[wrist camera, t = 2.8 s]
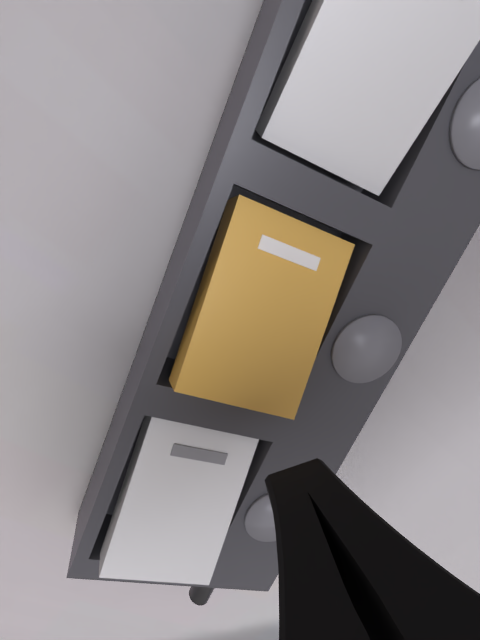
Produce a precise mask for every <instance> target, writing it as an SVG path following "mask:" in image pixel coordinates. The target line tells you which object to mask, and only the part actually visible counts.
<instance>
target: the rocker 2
mask: <svg viewBox="0 0 480 640" xmlns="http://www.w3.org/2000/svg"><path fill="white" fill-rule="evenodd" d="M479 40H480V0H312V2H311V4H310V7H309V9H308V11H307V13H306V16H305V18H304V20H303V22H302V25H301V27H300V29H299V31H298V34H297V36H296V38H295V40H294V43H293V45H292V47H291V50H290V52H289V54H288V56H287V59H286V61H285V63H284V65H283V68H282V70H281V72H280V74H279V77H278V79H277V81H276V83H275V86H274V88H273V90H272V92H271V95H270V97H269V99H268V101H267V104H266V106H265V108H264V110H263V113H262V115H261V117H260V120H259V122H258V124H257V126H256V129H255V130H256V131H257V133H258V134H259V135H260V136H261V138H263V139H265V140H267V141H269V142H271V143H273V144H275V145H277V146H279V147H281V148H283V149H285V150H287V151H289V152H291V153H293V154H295V155H297V156H299V157H301V158H303V159H305V160H307V161H309V162H311V163H313V164H315V165H317V166H319V167H321V168H323V169H325V170H327V171H329V172H331V173H333V174H335V175H338V176H340V177H342V178H344V179H346V180H348V181H350V182H352V183H354V184H356V185H358V186H360V187H362V188H364V189H366V190H368V191H370V192H372V193H374V194H376V195H378V196H379V195H380V194H381V192H382V190H383V189H384V187H385V186H386V184H387V183H388V181H389V180H390V178H391V177H392V175H393V173H394V172H395V170H396V169H397V167H398V166H399V164H400V163H401V161H402V159H403V158H404V156H405V155H406V153H407V152H408V150H409V149H410V147H411V146H412V144H413V142H414V141H415V139H416V138H417V136H418V135H419V133H420V132H421V130H422V128H423V127H424V125H425V124H426V122H427V121H428V119H429V118H430V116H431V115H432V113H433V111H434V110H435V108H436V107H437V105H438V104H439V102H440V101H441V99H442V98H443V96H444V94H445V93H446V91H447V90H448V88H449V87H450V85H451V84H452V82H453V80H454V79H455V77H456V76H457V74H458V73H459V71H460V70H461V68H462V67H463V65H464V63H465V62H466V60H467V59H468V57H469V56H470V54H471V53H472V51H473V49H474V48H475V46H476V45H477V43H478V42H479Z"/></svg>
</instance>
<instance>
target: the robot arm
mask: <svg viewBox="0 0 480 640" xmlns="http://www.w3.org/2000/svg"><path fill="white" fill-rule="evenodd" d="M265 484H266V488H267V492H268V496H269V499H270V503H271V507H272V511H273V517H274V524H275V532H276V544H277V557H278V573H279V640H480V594H479V593H478V592H476V591H475V590H473V589H472V588H470V587H469V586H468V585H466V584H465V583H463V582H462V581H461V580H459V579H458V578H457V577H455V576H454V575H452V574H451V573H450V572H448V571H447V570H446V569H444V568H443V567H442V566H440V565H439V564H438V563H436V562H435V561H434V560H433V559H431V558H430V557H429V556H427V555H426V554H425V553H424V552H422V551H421V550H420V549H418V548H417V547H416V546H415V545H413V544H412V543H411V542H410V541H408V540H407V539H406V538H405V537H404V536H402V535H401V534H400V533H399V532H398V531H396V530H395V529H394V528H393V527H392V526H391V525H389V524H388V523H387V522H386V521H385V520H384V519H382V518H381V517H380V516H379V515H378V514H377V513H375V512H374V511H373V510H372V509H371V508H370V507H369V506H368V505H366V504H365V503H364V502H363V501H362V500H361V499H360V498H359V497H358V496H357V495H356V494H355V493H354V492H353V491H351V490H350V489H349V488H348V487H347V486H346V485H345V484H344V483H343V482H342V481H341V480H340V479H339V478H338V477H337V476H336V475H335V474H334V473H333V472H332V471H331V469H330V468H329V467H328V466H327V465H326V464H325V463H324V462H323V461H322V460H320V459H318V458H316V459H313V460H310V461H307V462H304V463H301V464H299V465H296V466H293V467H290V468H287V469H284V470H281V471H278V472H275V473H272V474H269V475H268V476H267V477H266V479H265Z"/></svg>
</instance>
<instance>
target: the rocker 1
mask: <svg viewBox="0 0 480 640" xmlns="http://www.w3.org/2000/svg"><path fill="white" fill-rule="evenodd" d="M258 441H259V439H255V438H250V437H245V436H241V435H236V434H231V433H226V432H222V431H217V430H212V429H207V428H203V427H198V426H193V425H188V424H184V423H179V422H174V421H169V420H164V419H160V418H155V417H150V416H145V417H144V420H143V423H142V426H141V429H140V433H139V436H138V439H137V442H136V445H135V448H134V451H133V454H132V457H131V460H130V463H129V466H128V469H127V472H126V475H125V478H124V481H123V484H122V487H121V490H120V493H119V497H118V500H117V503H116V506H115V509H114V512H113V515H112V518H111V521H110V524H109V527H108V530H107V533H106V536H105V539H104V542H103V545H102V548H101V551H100V562H99V578H111V579H126V580H140V581H155V582H169V583H184V584H198V585H209V584H210V581H211V578H212V575H213V572H214V569H215V566H216V563H217V560H218V558H219V555H220V552H221V549H222V546H223V543H224V540H225V537H226V534H227V531H228V528H229V526H230V523H231V520H232V517H233V514H234V511H235V508H236V505H237V502H238V499H239V496H240V494H241V491H242V488H243V485H244V482H245V479H246V476H247V473H248V470H249V467H250V464H251V462H252V459H253V456H254V453H255V450H256V447H257V444H258Z"/></svg>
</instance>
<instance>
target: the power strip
mask: <svg viewBox="0 0 480 640" xmlns="http://www.w3.org/2000/svg"><path fill="white" fill-rule="evenodd" d="M311 2H312V0H264V1H263V4H262V7H261V10H260V12H259V15H258V18H257V21H256V23H255V26H254V29H253V32H252V35H251V37H250V40H249V43H248V46H247V48H246V51H245V54H244V57H243V59H242V62H241V65H240V68H239V70H238V73H237V76H236V79H235V82H234V84H233V87H232V90H231V93H230V95H229V98H228V101H227V104H226V106H225V109H224V112H223V115H222V117H221V120H220V123H219V126H218V129H217V131H216V134H215V137H214V140H213V142H212V145H211V148H210V151H209V153H208V156H207V159H206V162H205V165H204V167H203V170H202V173H201V176H200V178H199V181H198V184H197V187H196V189H195V192H194V195H193V198H192V200H191V203H190V206H189V209H188V212H187V214H186V217H185V220H184V223H183V225H182V228H181V231H180V234H179V236H178V239H177V242H176V245H175V247H174V250H173V253H172V256H171V259H170V261H169V264H168V267H167V270H166V272H165V275H164V278H163V281H162V283H161V286H160V289H159V292H158V295H157V297H156V300H155V303H154V306H153V308H152V311H151V314H150V317H149V319H148V322H147V325H146V328H145V330H144V333H143V336H142V339H141V342H140V344H139V347H138V350H137V353H136V355H135V358H134V361H133V364H132V366H131V369H130V372H129V375H128V377H127V380H126V383H125V386H124V389H123V391H122V394H121V397H120V400H119V402H118V405H117V408H116V411H115V413H114V416H113V419H112V422H111V425H110V427H109V430H108V433H107V436H106V438H105V441H104V444H103V447H102V449H101V452H100V455H99V458H98V460H97V463H96V466H95V469H94V472H93V474H92V477H91V480H90V483H89V485H88V488H87V491H86V494H85V496H84V499H83V502H82V505H81V507H80V510H79V513H78V519H77V524H76V530H75V535H74V541H73V546H72V552H71V557H70V563H69V568H68V574H67V578H75V579H90V580H105V581H120V582H135V583H150V584H165V585H180V586H191V588H190V590H189V596H190V599H191V600H192V602H194V603H195V604H197V605H204V604H206V603H207V601H208V599H209V597H210V595H211V593H212V591H213V590H214V588H225V589H240V590H255V591H269V589H270V587H271V586H272V584H273V582H274V580H275V579H276V577H277V575H278V557H277V544H276V532H275V524H274V517H273V511H272V507H271V503H270V499H269V496H268V492H267V488H266V484H265V479H266V477H267V476H268V475H269V474H272V473H275V472H278V471H281V470H284V469H287V468H290V467H293V466H296V465H299V464H301V463H304V462H307V461H310V460H313V459H316V458H318V459H320V460H322V461H323V462H324V463H325V464H326V465H327V466H328V467H329V468H330V469H331V471H332V472H333V473H334V474H336V473H337V471H338V469H339V467H340V466H341V464H342V462H343V461H344V459H345V457H346V455H347V454H348V452H349V450H350V448H351V447H352V445H353V443H354V441H355V440H356V438H357V436H358V434H359V433H360V431H361V429H362V428H363V426H364V424H365V422H366V421H367V419H368V417H369V415H370V414H371V412H372V410H373V408H374V407H375V405H376V403H377V401H378V400H379V398H380V396H381V395H382V393H383V391H384V389H385V388H386V386H387V384H388V382H389V381H390V379H391V377H392V375H393V374H394V372H395V370H396V369H397V367H398V365H399V363H400V362H401V360H402V358H403V356H404V355H405V353H406V351H407V349H408V348H409V346H410V344H411V342H412V341H413V339H414V337H415V336H416V334H417V332H418V330H419V329H420V327H421V325H422V323H423V322H424V320H425V318H426V316H427V315H428V313H429V311H430V309H431V308H432V306H433V304H434V303H435V301H436V299H437V297H438V296H439V294H440V292H441V290H442V289H443V287H444V285H445V283H446V282H447V280H448V278H449V277H450V275H451V273H452V271H453V270H454V268H455V266H456V264H457V263H458V261H459V259H460V257H461V256H462V254H463V252H464V250H465V249H466V247H467V245H468V244H469V242H470V240H471V238H472V237H473V235H474V233H475V231H476V230H477V228H478V226H479V224H480V40H479V42H478V43H477V45H476V46H475V48H474V49H473V51H472V53H471V54H470V56H469V57H468V59H467V60H466V62H465V63H464V65H463V67H462V68H461V70H460V71H459V73H458V74H457V76H456V77H455V79H454V80H453V82H452V84H451V85H450V87H449V88H448V90H447V91H446V93H445V94H444V96H443V98H442V99H441V101H440V102H439V104H438V105H437V107H436V108H435V110H434V111H433V113H432V115H431V116H430V118H429V119H428V121H427V122H426V124H425V125H424V127H423V128H422V130H421V132H420V133H419V135H418V136H417V138H416V139H415V141H414V142H413V144H412V146H411V147H410V149H409V150H408V152H407V153H406V155H405V156H404V158H403V159H402V161H401V163H400V164H399V166H398V167H397V169H396V170H395V172H394V173H393V175H392V177H391V178H390V180H389V181H388V183H387V184H386V186H385V187H384V189H383V190H382V192H381V194H380V195H379V196H378V195H376V194H374V193H372V192H370V191H368V190H366V189H364V188H362V187H360V186H358V185H356V184H354V183H352V182H350V181H348V180H346V179H344V178H342V177H340V176H338V175H335V174H333V173H331V172H329V171H327V170H325V169H323V168H321V167H319V166H317V165H315V164H313V163H311V162H309V161H307V160H305V159H303V158H301V157H299V156H297V155H295V154H293V153H291V152H289V151H287V150H285V149H283V148H281V147H279V146H277V145H275V144H273V143H271V142H269V141H267V140H265V139H263V138H261V136H260V135H259V134H258V133H257V131H256V130H255V129H256V126H257V124H258V122H259V120H260V117H261V115H262V113H263V110H264V108H265V106H266V104H267V101H268V99H269V97H270V95H271V92H272V90H273V88H274V86H275V83H276V81H277V79H278V77H279V74H280V72H281V70H282V68H283V65H284V63H285V61H286V59H287V56H288V54H289V52H290V50H291V47H292V45H293V43H294V40H295V38H296V36H297V34H298V31H299V29H300V27H301V25H302V22H303V20H304V18H305V16H306V13H307V11H308V9H309V7H310V4H311ZM239 194H240V195H242V196H244V197H247V198H249V199H251V200H253V201H256V202H258V203H260V204H263V205H265V206H267V207H270V208H272V209H274V210H277V211H279V212H281V213H283V214H286V215H288V216H290V217H293V218H295V219H297V220H300V221H302V222H304V223H307V224H309V225H311V226H313V227H316V228H318V229H320V230H323V231H325V232H327V233H330V234H332V235H334V236H336V237H339V238H341V239H343V240H346V241H348V242H350V243H353V244H355V246H354V249H353V252H352V255H351V257H350V260H349V263H348V266H347V269H346V272H345V275H344V278H343V280H342V283H341V286H340V289H339V292H338V295H337V298H336V301H335V304H334V306H333V309H332V312H331V315H330V318H329V321H328V324H327V327H326V329H325V332H324V335H323V338H322V341H321V344H320V347H319V350H318V352H317V355H316V358H315V361H314V364H313V367H312V370H311V373H310V375H309V378H308V381H307V384H306V387H305V390H304V393H303V396H302V399H301V401H300V404H299V407H298V410H297V413H296V416H295V419H294V420H292V419H288V418H284V417H280V416H275V415H271V414H267V413H263V412H258V411H254V410H250V409H246V408H241V407H237V406H233V405H229V404H225V403H220V402H216V401H212V400H208V399H203V398H199V397H195V396H191V395H186V394H182V393H178V392H174V390H173V388H172V386H171V384H170V382H169V377H170V374H171V371H172V368H173V365H174V362H175V359H176V356H177V353H178V350H179V347H180V344H181V340H182V337H183V334H184V331H185V328H186V325H187V322H188V319H189V316H190V313H191V310H192V307H193V304H194V301H195V298H196V295H197V292H198V289H199V286H200V283H201V280H202V277H203V274H204V271H205V268H206V265H207V262H208V259H209V255H210V252H211V249H212V246H213V243H214V240H215V237H216V234H217V231H218V228H219V225H220V222H221V219H222V216H223V213H224V210H225V207H226V204H227V201H228V200H229V199H231V198H233V197H235V196H237V195H239ZM145 416H150V417H155V418H160V419H164V420H169V421H174V422H179V423H184V424H188V425H193V426H198V427H203V428H207V429H212V430H217V431H222V432H226V433H231V434H236V435H241V436H245V437H250V438H255V439H259V441H258V444H257V447H256V450H255V453H254V456H253V459H252V462H251V464H250V467H249V470H248V473H247V476H246V479H245V482H244V485H243V488H242V491H241V494H240V496H239V499H238V502H237V505H236V508H235V511H234V514H233V517H232V520H231V523H230V526H229V528H228V531H227V534H226V537H225V540H224V543H223V546H222V549H221V552H220V555H219V558H218V560H217V563H216V566H215V569H214V572H213V575H212V578H211V581H210V584H209V585H198V584H184V583H169V582H155V581H140V580H126V579H111V578H99V562H100V551H101V548H102V545H103V542H104V539H105V536H106V533H107V530H108V527H109V524H110V521H111V518H112V515H113V512H114V509H115V506H116V503H117V500H118V497H119V493H120V490H121V487H122V484H123V481H124V478H125V475H126V472H127V469H128V466H129V463H130V460H131V457H132V454H133V451H134V448H135V445H136V442H137V439H138V436H139V433H140V429H141V426H142V423H143V420H144V417H145Z"/></svg>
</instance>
